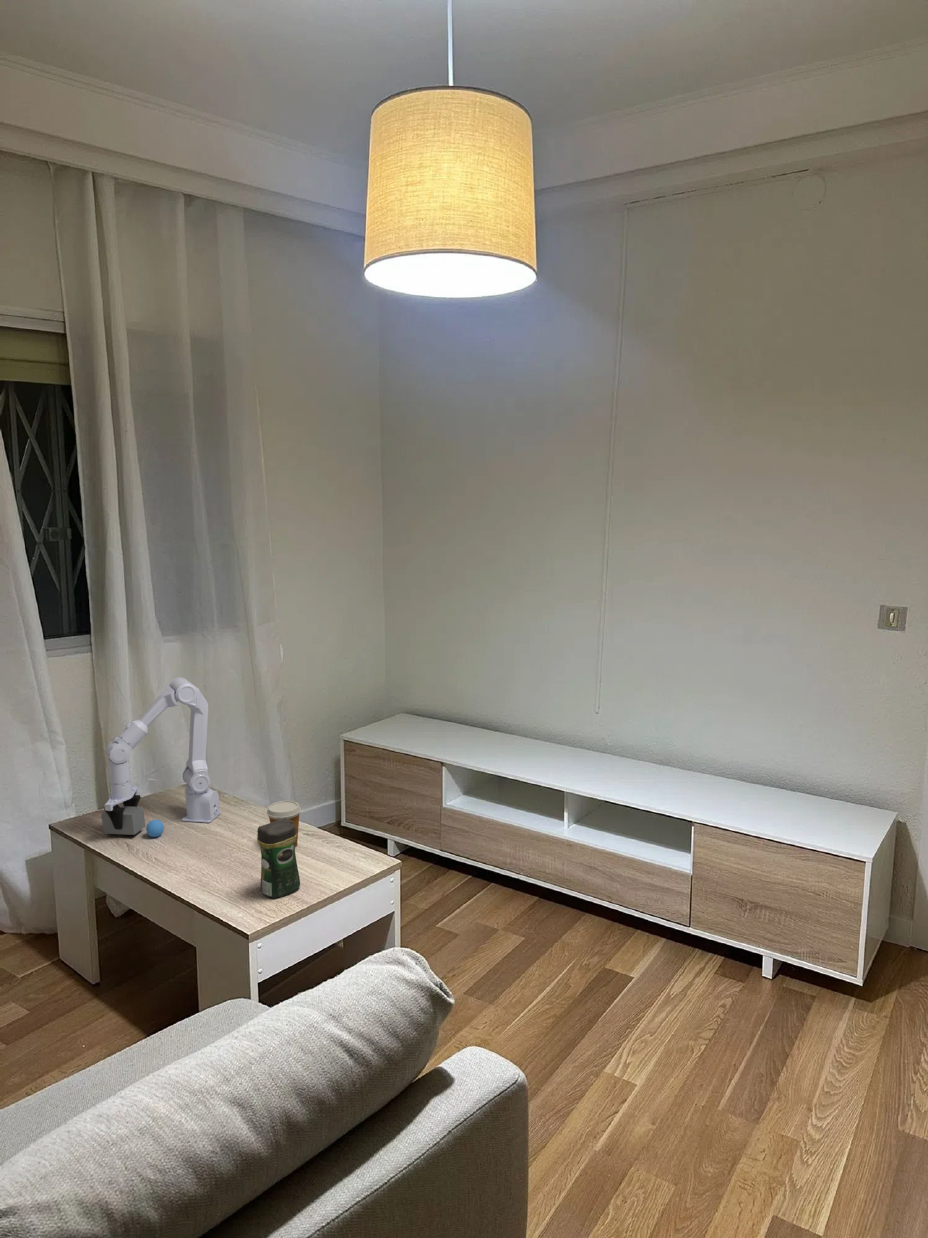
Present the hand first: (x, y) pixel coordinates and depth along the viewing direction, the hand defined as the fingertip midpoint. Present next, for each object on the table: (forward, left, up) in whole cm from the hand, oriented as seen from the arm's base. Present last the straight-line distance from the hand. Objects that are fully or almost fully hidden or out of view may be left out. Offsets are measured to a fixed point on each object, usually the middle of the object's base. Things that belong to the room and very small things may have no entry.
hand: (124, 824), depth 265 cm
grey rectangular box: (0, 0, -2) cm, 2 cm away
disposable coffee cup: (-51, 0, -3) cm, 51 cm away
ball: (-10, 0, 0) cm, 10 cm away
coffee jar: (-60, +25, -3) cm, 65 cm away
